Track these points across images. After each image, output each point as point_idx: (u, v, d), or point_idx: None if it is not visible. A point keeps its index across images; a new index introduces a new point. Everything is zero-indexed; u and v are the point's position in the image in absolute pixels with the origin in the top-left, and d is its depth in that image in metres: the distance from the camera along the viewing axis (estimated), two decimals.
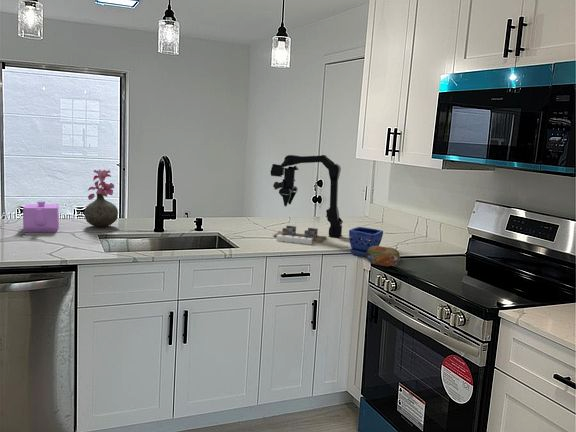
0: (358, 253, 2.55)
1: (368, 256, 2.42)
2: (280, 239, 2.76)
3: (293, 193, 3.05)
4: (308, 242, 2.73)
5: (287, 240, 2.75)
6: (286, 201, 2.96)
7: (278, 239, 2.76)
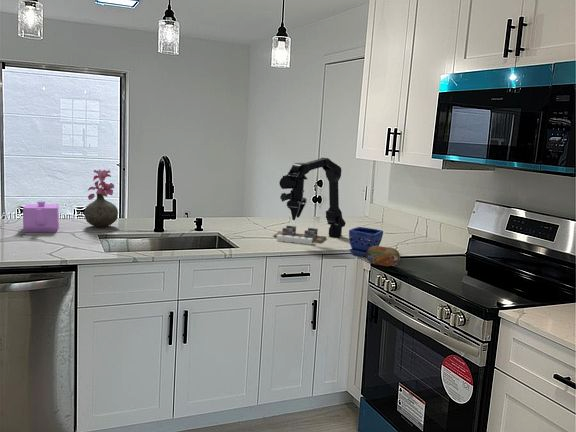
0: (358, 253, 2.55)
1: (368, 256, 2.42)
2: (280, 239, 2.76)
3: (302, 205, 2.78)
4: (308, 242, 2.73)
5: (287, 240, 2.75)
6: (294, 214, 2.69)
7: (278, 239, 2.76)
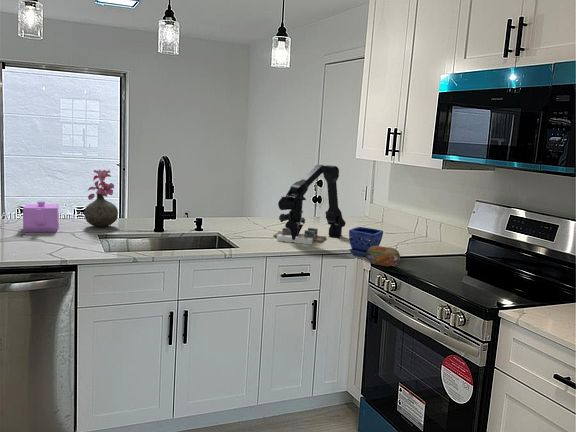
0: (358, 253, 2.55)
1: (368, 256, 2.42)
2: (280, 239, 2.76)
3: (299, 226, 2.78)
4: (308, 242, 2.73)
5: (287, 240, 2.75)
6: (294, 234, 2.73)
7: (278, 239, 2.76)
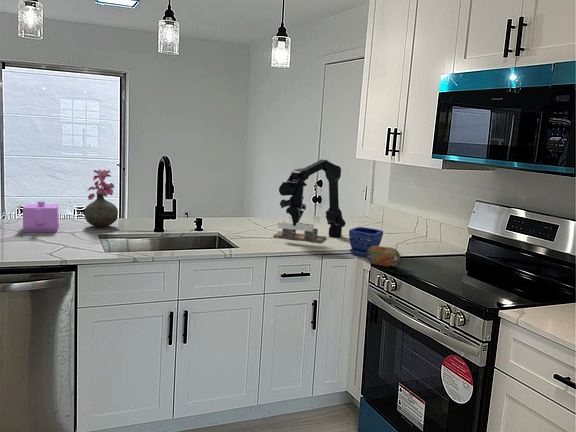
0: (358, 253, 2.55)
1: (368, 256, 2.42)
2: (281, 225, 2.75)
3: (300, 212, 2.76)
4: (309, 228, 2.72)
5: (288, 226, 2.74)
6: (295, 220, 2.71)
7: (279, 225, 2.75)
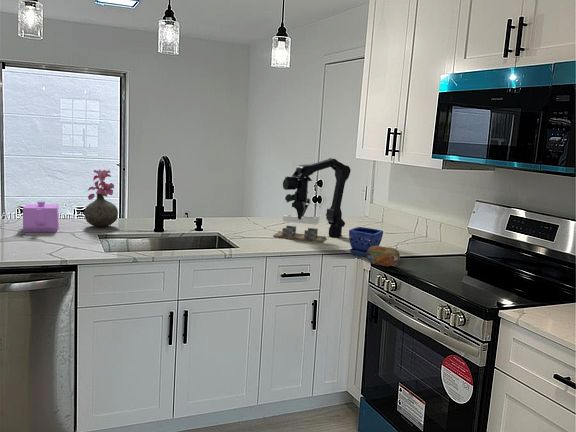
0: (358, 253, 2.55)
1: (368, 256, 2.42)
2: (286, 219, 2.84)
3: (305, 206, 2.85)
4: (314, 221, 2.81)
5: (293, 220, 2.83)
6: (300, 214, 2.80)
7: (284, 219, 2.84)
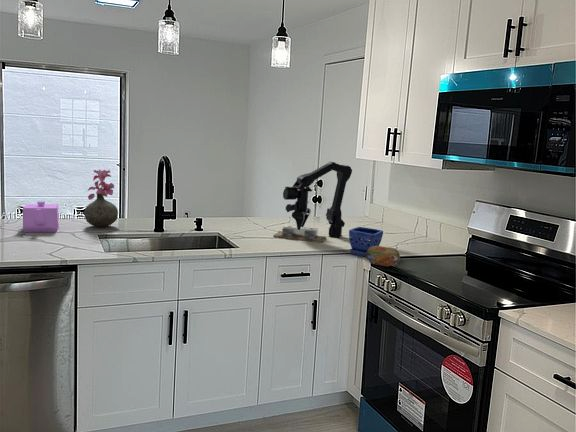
0: (358, 253, 2.55)
1: (368, 256, 2.42)
2: None
3: (306, 216, 2.90)
4: None
5: (293, 230, 2.86)
6: (299, 224, 2.82)
7: None
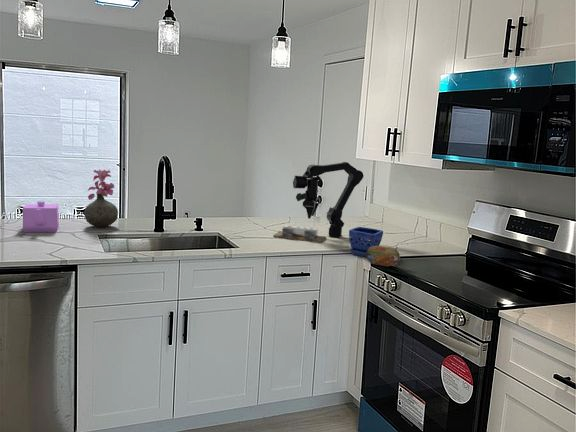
0: (358, 253, 2.55)
1: (368, 256, 2.42)
2: None
3: (316, 204, 2.95)
4: None
5: (293, 230, 2.86)
6: (310, 213, 2.85)
7: None
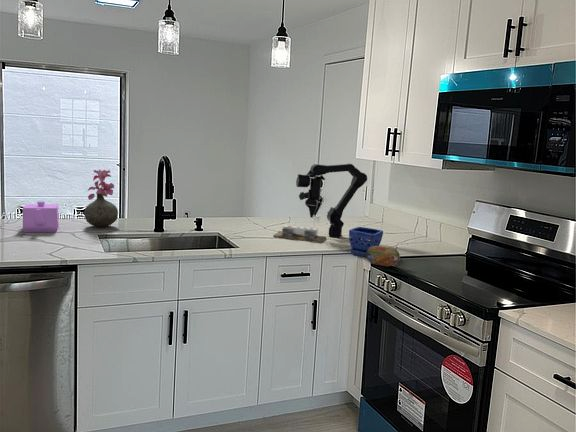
0: (358, 253, 2.55)
1: (368, 256, 2.42)
2: None
3: (319, 203, 2.96)
4: None
5: (293, 230, 2.86)
6: (312, 212, 2.87)
7: None
